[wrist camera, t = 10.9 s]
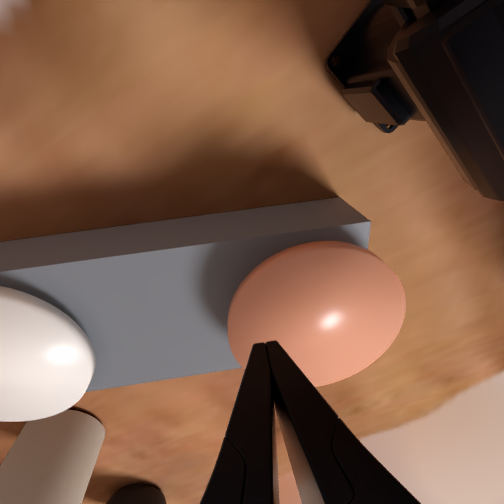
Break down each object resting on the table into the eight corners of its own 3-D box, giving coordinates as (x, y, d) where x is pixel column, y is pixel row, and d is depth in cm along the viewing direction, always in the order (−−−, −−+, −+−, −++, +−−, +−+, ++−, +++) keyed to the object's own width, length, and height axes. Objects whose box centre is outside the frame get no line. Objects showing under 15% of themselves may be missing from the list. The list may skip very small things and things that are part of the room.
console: (339, 197, 21) (370, 221, 17) (333, 308, 26) (356, 349, 22) (-40, 247, 20) (-113, 287, 16) (32, 353, 25) (-7, 406, 21)
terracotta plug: (290, 177, 19) (320, 208, 13) (386, 260, 23) (440, 310, 17) (198, 287, 22) (191, 347, 17) (296, 342, 26) (316, 406, 21)
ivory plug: (-4, 211, 19) (-97, 256, 13) (144, 288, 23) (120, 347, 17) (-52, 316, 22) (-142, 387, 17) (85, 367, 26) (49, 437, 21)
